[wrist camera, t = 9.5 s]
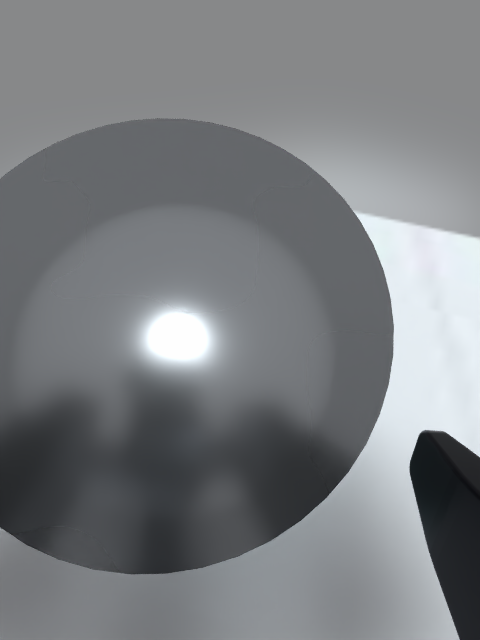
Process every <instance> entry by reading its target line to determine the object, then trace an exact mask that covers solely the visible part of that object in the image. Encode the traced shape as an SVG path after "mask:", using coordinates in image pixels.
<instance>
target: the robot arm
mask: <svg viewBox="0 0 480 640" xmlns="http://www.w3.org/2000/svg"><path fill="white" fill-rule="evenodd" d="M410 476H411V480H412V484H413V489H414V493H415V497H416V501H417V505H418V509H419V513H420V518H421V522H422V526H423V530H424V534H425V538H426V542H427V546H428V549H429V553H430V556H431V559H432V562H433V565H434V568H435V571H436V574H437V577H438V579H439V582H440V585H441V588H442V591H443V593H444V596H445V599H446V602H447V605H448V608H449V610H450V613H451V616H452V619H453V622H454V625H455V627H456V630H457V633H458V636H459V639H460V640H480V457H479V456H477V455H476V454H475V453H473V452H472V451H470V450H469V449H468V448H466V447H465V446H464V445H462V444H461V443H460V442H458V441H457V440H456V439H454V438H453V437H451V436H450V435H449V434H447V433H446V432H443V431H432V430H424V431H422V432H421V433H420V435H419V437H418V440H417V443H416V446H415V449H414V451H413V454H412V457H411V460H410Z"/></svg>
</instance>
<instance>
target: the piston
mask: <svg viewBox="0 0 480 640" xmlns="http://www.w3.org/2000/svg"><path fill="white" fill-rule="evenodd" d="M393 332H394V324H393V316H392V307H391V299H390V294H389V290H388V286H387V282H386V278H385V274H384V270H383V268H382V265H381V263H380V260H379V258H378V255H377V253H376V250H375V248H374V245H373V243H372V241H371V240H370V238H369V236H368V234H367V232H366V231H365V229H364V227H363V225H362V224H361V222H360V220H359V219H358V217H357V216H356V215H355V213H354V212H353V211H352V209H351V208H350V207H349V205H348V204H347V203H346V201H345V200H344V199H343V198H342V197H341V195H340V194H338V192H336V190H335V189H334V188H333V187H332V186H331V185H330V184H329V183H328V182H327V181H326V180H325V179H324V178H323V177H322V176H320V175H319V174H318V173H317V172H315V171H314V170H313V169H312V168H311V167H309V166H308V165H307V164H306V163H304V162H303V161H301V160H300V159H298V158H297V157H295V156H293V155H292V154H290V153H289V152H287V151H286V150H284V149H282V148H280V147H278V146H276V145H274V144H272V143H270V142H268V141H266V140H264V139H262V138H260V137H257V136H255V135H252V134H249V133H246V132H243V131H240V130H238V129H235V128H231V127H227V126H223V125H219V124H214V123H210V122H203V121H195V120H187V119H160V118H159V119H158V118H157V119H145V120H134V121H127V122H121V123H116V124H111V125H106V126H102V127H98V128H95V129H92V130H89V131H85V132H82V133H79V134H76V135H74V136H71V137H69V138H67V139H64V140H62V141H60V142H57V143H55V144H53V145H51V146H49V147H47V148H45V149H44V150H42V151H40V152H38V153H36V154H35V155H33V156H31V157H29V158H28V159H26V160H25V161H23V162H22V163H21V164H19V165H18V166H16V167H15V168H14V169H12V170H11V171H9V172H8V173H7V174H5V175H4V176H3V177H2V178H1V179H0V527H1V528H2V529H4V530H5V531H7V532H8V533H10V534H11V535H13V536H14V537H16V538H17V539H19V540H20V541H22V542H23V543H25V544H26V545H28V546H31V547H33V548H35V549H37V550H39V551H41V552H44V553H46V554H48V555H50V556H52V557H54V558H57V559H59V560H62V561H66V562H69V563H73V564H76V565H80V566H83V567H87V568H90V569H94V570H102V571H109V572H117V573H125V574H165V573H173V572H179V571H185V570H191V569H197V568H203V567H206V566H209V565H212V564H216V563H219V562H222V561H225V560H228V559H231V558H234V557H238V556H240V555H242V554H244V553H246V552H248V551H250V550H252V549H254V548H256V547H259V546H261V545H263V544H265V543H267V542H269V541H271V540H272V539H274V538H275V537H277V536H278V535H280V534H281V533H283V532H284V531H286V530H287V529H289V528H290V527H292V526H293V525H295V524H296V523H298V522H299V521H301V520H302V519H303V518H304V517H305V516H306V515H308V514H309V513H310V512H311V511H312V510H313V509H314V508H315V507H316V506H318V505H319V504H320V503H321V502H322V501H323V500H324V499H325V498H327V496H328V495H329V494H330V493H331V492H332V491H333V489H334V488H335V487H336V486H337V485H338V483H339V482H340V481H341V480H342V479H343V478H344V476H345V475H346V474H347V473H348V472H349V470H350V469H351V467H352V465H353V464H354V462H355V461H356V459H357V457H358V456H359V454H360V453H361V451H362V450H363V448H364V446H365V445H366V443H367V441H368V439H369V437H370V434H371V432H372V430H373V428H374V426H375V423H376V421H377V419H378V417H379V415H380V411H381V408H382V405H383V401H384V398H385V395H386V391H387V388H388V385H389V378H390V372H391V365H392V359H393Z"/></svg>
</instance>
